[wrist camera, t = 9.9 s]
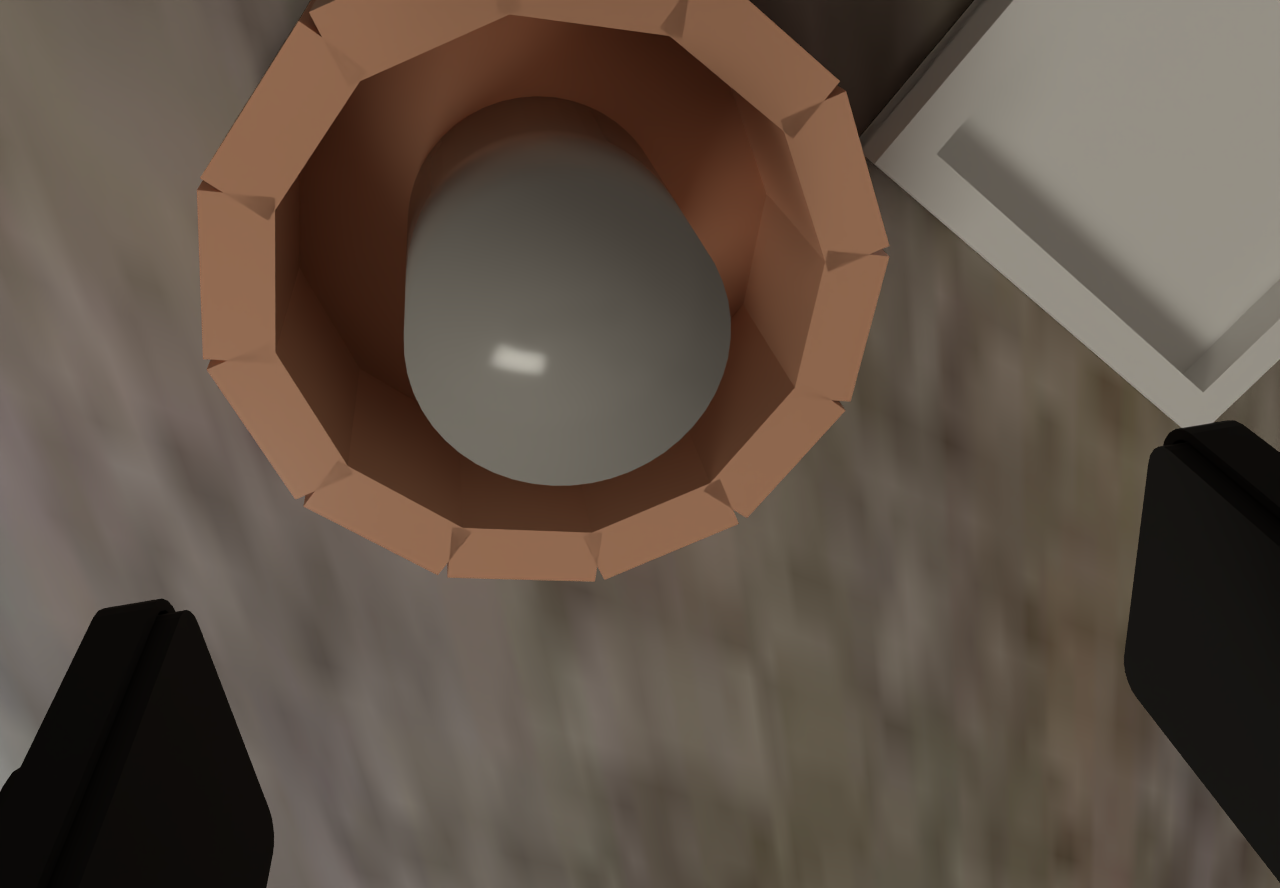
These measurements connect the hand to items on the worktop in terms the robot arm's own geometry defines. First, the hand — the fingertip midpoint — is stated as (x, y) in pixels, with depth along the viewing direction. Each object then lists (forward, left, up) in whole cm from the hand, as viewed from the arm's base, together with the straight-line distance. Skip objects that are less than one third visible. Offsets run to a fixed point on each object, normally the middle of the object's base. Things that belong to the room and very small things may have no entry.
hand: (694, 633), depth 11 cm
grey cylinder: (+1, 0, -11) cm, 11 cm away
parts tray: (-8, -10, -11) cm, 17 cm away
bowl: (+1, 0, -11) cm, 11 cm away
